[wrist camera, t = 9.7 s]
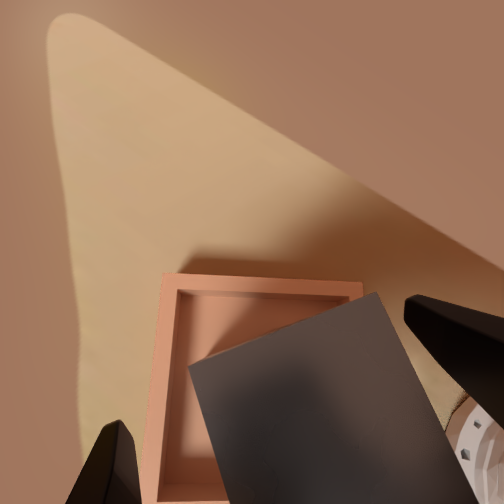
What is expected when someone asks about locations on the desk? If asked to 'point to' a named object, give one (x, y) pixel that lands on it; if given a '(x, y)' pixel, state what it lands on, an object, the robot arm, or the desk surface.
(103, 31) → the desk surface
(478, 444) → the mechanical component
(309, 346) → the graphite square block
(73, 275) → the desk surface
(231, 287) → the terracotta bin
